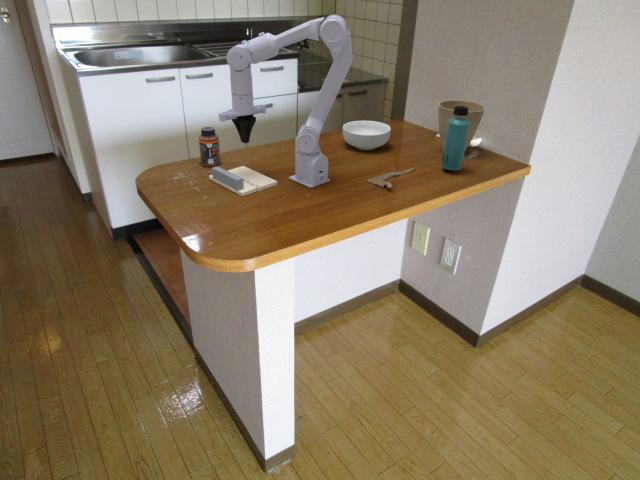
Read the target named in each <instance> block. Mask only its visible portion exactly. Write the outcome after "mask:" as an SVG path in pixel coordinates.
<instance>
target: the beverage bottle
mask: <svg viewBox="0 0 640 480" xmlns="http://www.w3.org/2000/svg"><path fill="white" fill-rule="evenodd" d="M453 114H455V115H458V116H467V115H468V107H465V106H456V107H455V109H454V112H453ZM469 125H470V122H469V121H468V120H467V119H466V118H464V117H453V118H451V119H450V120H449V121H448V128H447V133H446V138H445V139H446V140H445V146H444V152H443V151H442V156H441V163H440V164H441V168H443V169H446V170H450V171H460V170H461V169H462V167H463V163H464V159H465V157H464V156H465V154H466V153H465V152H466V151H465V147H466V140H467V135H468V130H469Z"/></svg>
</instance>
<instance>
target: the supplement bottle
mask: <svg viewBox="0 0 640 480" xmlns="http://www.w3.org/2000/svg"><path fill="white" fill-rule="evenodd" d="M215 129H216V128H215V127H214V126H213V127H212V126H204V127H201V129H200V131H201V132H200V133H201V134H200V135H199V136H198V143H199V154H200V163H201V165H202V166H203V167H209V168H213V167H217V166H220V165H221V151H220V149H221V148H220V141H219V139H220V138H219V136H218V134H216V130H215Z"/></svg>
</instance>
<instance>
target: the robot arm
mask: <svg viewBox="0 0 640 480" xmlns="http://www.w3.org/2000/svg"><path fill="white" fill-rule="evenodd" d="M350 31H351V30H350V28H349V26H348V24H347V22H346V21H345V19H344V17H342V16H341V15H339V14H330V15H328V16H326V18H325V16H323V17H319V18H315V19H311V20H307V21H305V22H304V23H301V24H299V25H297V26H295V27H293V28H291V29H290V28H289V29H288V30H286V31H283V32H281V33H279V34H277V35H274V34H273V33H270V32H266V33H265V31H262V32H260V33H258V36H256V37H254V38H252V39H249V40H246V39H244V40H242V41H241V44H240V43H239V44H236V45H235V46H233V47H232V48H230V49H228V52H227V53H226V59H225V60H226V62H227V65H228V66H229V71H230V72H229V73H230V75H229V78H230V92H231V93H230V95H231V107H232V108H231V109H228V110H226V111H222V112H219V113H218V118H219V119H218V120H219V121H220V122H223V123H225V122H227V121H230V120H231V121H232V123H233V124H234V127H235V128H236V131H237V132H238V135H239V139H240V142H241V143H243V144H249V142H250V139H251V134H252V131H253V128H254V125H255V123H256V122H257V117H256V116H254V115H260V114H266V113H267V106H266V105H263V104H260V105H259V104H258V105H254V89H253V88H254V87H253V75H252V64H254V65H256V64H258V63H261V62H264V61H266V60H269V59H272V58H274V57H276V56H278V54H279V51H280V49H282V48H285V47H288V46H290V45H293V44H296V43H298V42H301V41H304V40H306V39H310V40H313V41H319V40H320V39H321V40H322V42H323V43H324V44H325V46H326V47H327V48H328V49H329V52H330V54H331V57H332V60H333V62H332V64H331V66H330V68H329V71H328V73H327V75H326V76H325V80H324V82H323V84H322V86H321V88H320V91H319V93H318V95H317V98H316V100H315V102H314V103H313V106H312V108H311V111H310V113H309V115H308V117H307V120H306V121H305V122H304V123H303V124H302V125H300V127H299V130H298V133H297V135H296V136H295V140H294V145H295V148H294V151H295V153H294V154H295V155H294V160H295V162H294V166H295V167H294V173H295V174H292V175H290V176H289V177H288V179H289V180H291V181H294V182H296V183H299V184H300V185H303V186H305V187H308V188H311V189H312V188H315V187H317V186H320V185H323V184H325V183H328V182H330V181H331V179H330V178H329V159H328V157H327V156H326V155H324V154H323V153H322V149H321V146H320V145H319V139H320V137H321V131H322V129H323V126H324V124H325V122H326V119H327V117H328V115H329V113H330V111H331V108H332V107H333V104H334V103H335V100H336V98H337V96H338V93H339V91H340V90H341V87H342V85H343V83H344V81H345V78H346V77H347V75H348V73H349V70H350V68H351V66H352V64H353V60H354V55H353V47H352V39H351V33H350Z"/></svg>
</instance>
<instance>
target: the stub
mask: <svg viewBox="0 0 640 480" xmlns="http://www.w3.org/2000/svg"><path fill="white" fill-rule="evenodd" d="M208 179H209V180H211V181H212V182H214V183H216V184H218V185H219V186H222V187H224V188H225V189H228V190H229V191H232V192H234V193H235V194H237V195H239V196H241V197H245V196H247V195H251V194H254V193H255V192H258V191H257V188H256V187H254V186H252V185H250V184H248V183H246V182H244V181H243V178H241V177H239V176H237V175H235V174H233V173H231V172H229V171H228V170H226V169H225V168H223V167H221V166H219V165H217V166H213V167H211V174H210V175H208Z"/></svg>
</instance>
